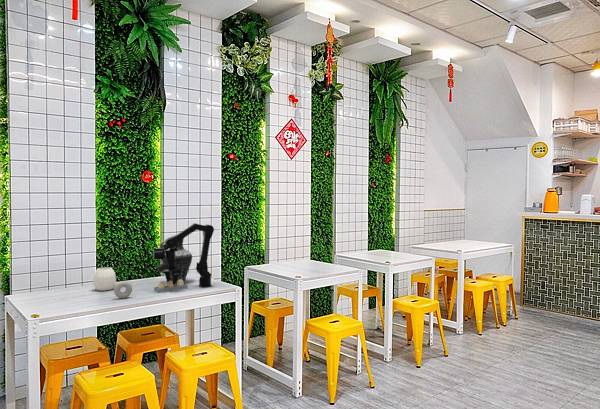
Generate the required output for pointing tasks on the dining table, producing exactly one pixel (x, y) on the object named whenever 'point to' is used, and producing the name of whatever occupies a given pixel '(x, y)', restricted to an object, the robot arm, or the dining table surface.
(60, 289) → the dining table surface
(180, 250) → the jug
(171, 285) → the egg
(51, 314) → the dining table surface
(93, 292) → the dining table surface
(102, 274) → the cream rounded canister
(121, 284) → the grey ring
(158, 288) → the carton
